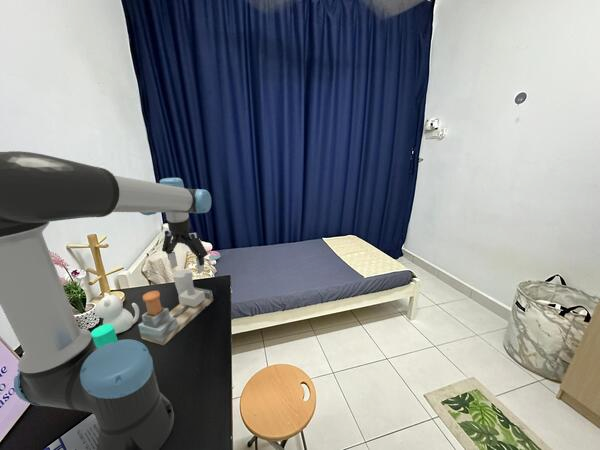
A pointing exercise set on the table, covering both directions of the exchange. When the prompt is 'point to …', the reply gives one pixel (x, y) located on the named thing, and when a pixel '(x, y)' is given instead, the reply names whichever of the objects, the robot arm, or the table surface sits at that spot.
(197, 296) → the carriage
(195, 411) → the table surface
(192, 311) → the rail board
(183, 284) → the white cup
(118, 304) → the cat figurine
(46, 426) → the table surface
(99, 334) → the candle
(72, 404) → the robot arm
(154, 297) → the plunger
